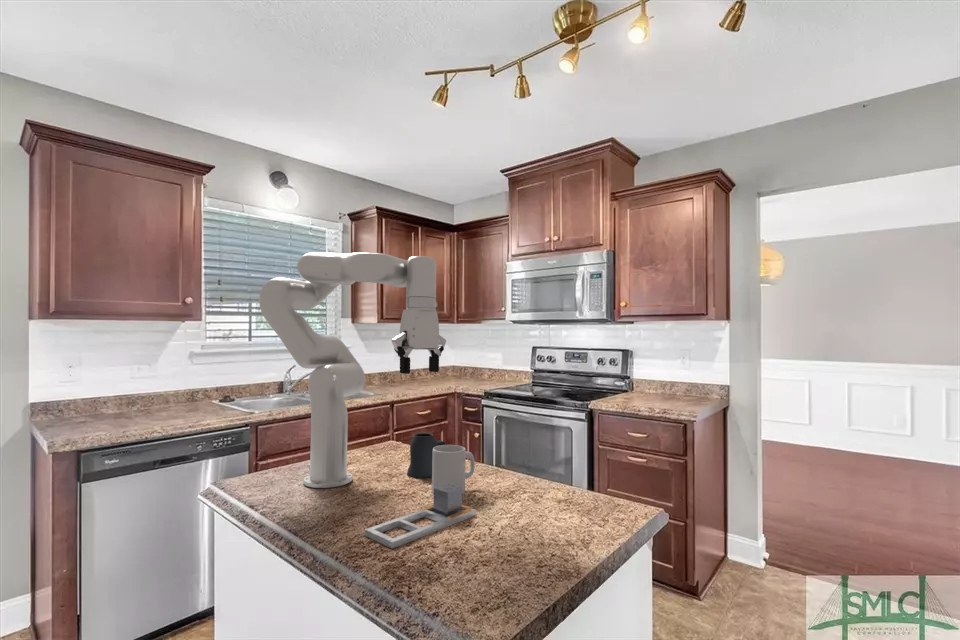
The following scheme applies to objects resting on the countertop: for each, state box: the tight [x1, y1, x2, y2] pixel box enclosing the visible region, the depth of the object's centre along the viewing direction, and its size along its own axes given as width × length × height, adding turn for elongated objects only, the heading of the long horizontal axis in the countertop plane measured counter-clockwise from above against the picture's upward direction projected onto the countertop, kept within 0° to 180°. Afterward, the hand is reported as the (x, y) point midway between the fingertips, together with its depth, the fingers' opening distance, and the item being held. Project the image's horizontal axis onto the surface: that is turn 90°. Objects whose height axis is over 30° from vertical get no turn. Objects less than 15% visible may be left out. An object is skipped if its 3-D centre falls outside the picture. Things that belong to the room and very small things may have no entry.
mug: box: [431, 444, 476, 495], centre depth 122 cm, size 12×8×11 cm
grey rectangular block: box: [432, 484, 463, 517], centre depth 105 cm, size 4×4×6 cm
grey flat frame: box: [364, 504, 476, 550], centre depth 99 cm, size 9×23×1 cm, turn 139°
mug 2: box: [406, 432, 446, 480], centre depth 138 cm, size 12×9×11 cm
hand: (419, 372), depth 120 cm, fingers open, 9 cm apart
